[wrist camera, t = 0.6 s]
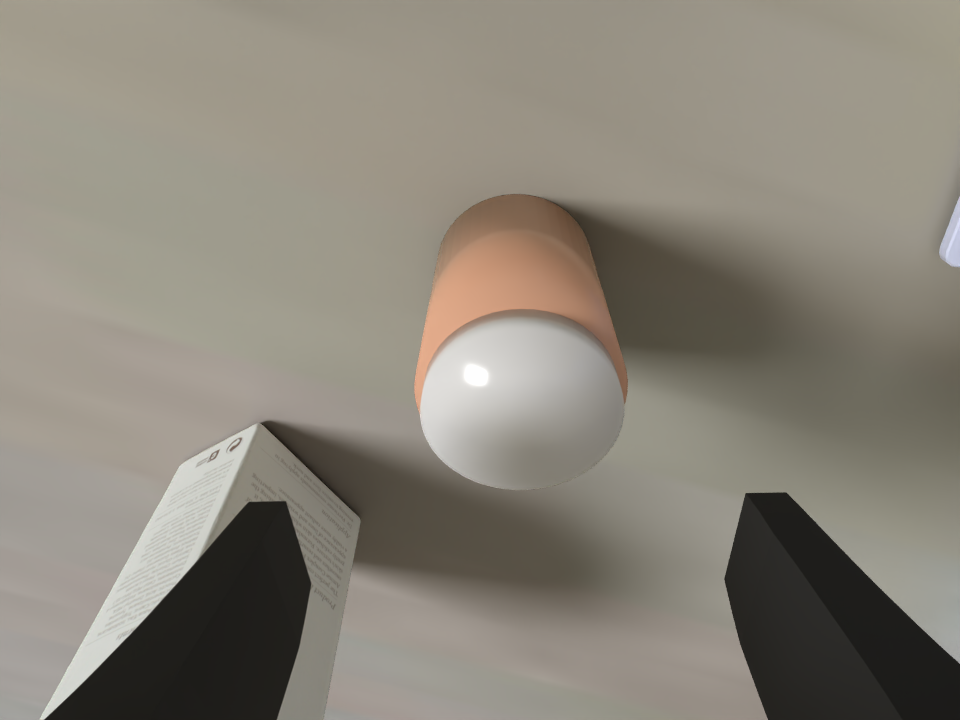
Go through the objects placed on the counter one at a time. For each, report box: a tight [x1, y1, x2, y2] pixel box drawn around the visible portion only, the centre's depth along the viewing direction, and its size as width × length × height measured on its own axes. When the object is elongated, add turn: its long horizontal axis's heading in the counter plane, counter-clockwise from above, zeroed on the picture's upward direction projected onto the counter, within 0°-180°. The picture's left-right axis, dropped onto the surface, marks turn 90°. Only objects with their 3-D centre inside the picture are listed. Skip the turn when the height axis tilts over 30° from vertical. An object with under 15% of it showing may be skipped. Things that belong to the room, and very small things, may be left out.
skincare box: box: [40, 423, 361, 720], centre depth 19 cm, size 6×4×12 cm
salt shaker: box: [415, 194, 628, 490], centre depth 16 cm, size 5×5×7 cm
